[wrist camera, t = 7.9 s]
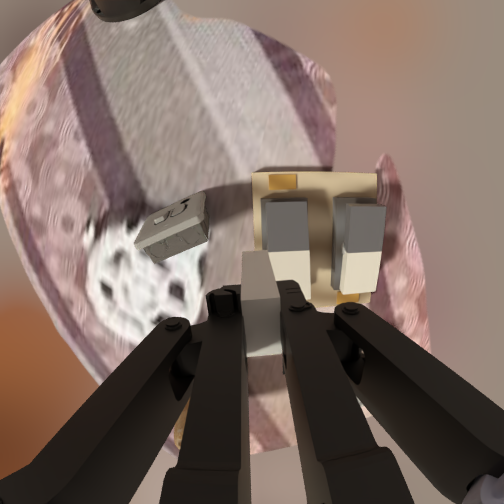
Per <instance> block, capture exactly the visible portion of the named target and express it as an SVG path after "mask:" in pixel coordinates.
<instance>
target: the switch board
mask: <svg viewBox="0 0 504 504" xmlns="http://www.w3.org/2000/svg"><path fill="white" fill-rule="evenodd" d="M251 174H252V197H253V220H254V244H255V251H259V250H267V229H266V209H265V204H266V203H267V202H304V201H307V215H308V232H309V252H310V282H311V299H308V300H306V301H308V302H310V303H312V304H313V305H314V306H315V308H318V307H329V306H337V305H339V304H341V303H346V302H355V303H368V302H370V296H371V292H365V293H355V294H344V295H343V294H342V292H341V291H340V289H339V288H340V280H341V270H342V260H343V253H342V243H344V236H345V220H346V204H377V174H374V173H352V172H257V173H251Z"/></svg>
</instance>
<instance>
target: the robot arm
mask: <svg viewBox="0 0 504 504" xmlns="http://www.w3.org/2000/svg"><path fill="white" fill-rule="evenodd" d="M89 1H90V4H91V8H92V11H93V12H94V14H95V15H96V16H97V17H98V18H99V19H101V20H102V21H105V22H120V21H124V20H128V19H130V18H133V17H136V16H138V15H140V14H142V13H144V12H145V11H147V10H149V9H150V8H152V7H153V6H154V5H156V4H157V3H158V2H159V1H160V0H89ZM206 301H207V307H208V314H209V315H208V320H207V321H205V322H203V323H200V324H196V325H192V326H190V322H189V320H187V319H186V318H182V317H172V318H168V319H166V320H163V321H162V322H160V323H159V324H158V325H157V326H156V327H155V328H154V329H153V330H152V331H151V332H150V333H149V334H148V335H147V336H146V337H145V338H144V340H143V341H142V342H141V343H140V344H139V345H138V346H137V347H136V348H135V349H134V350H133V351H132V352H131V353H130V354H129V355H128V356H127V357H126V359H125V360H124V361H123V362H122V363H121V364H120V365H119V366H118V367H117V368H116V369H115V370H114V371H113V372H112V373H111V375H110V376H109V377H108V378H107V379H106V380H105V381H104V382H103V383H102V384H101V385H100V386H99V387H98V389H97V390H96V391H95V392H94V393H93V394H92V395H91V396H90V397H89V398H88V399H87V400H86V402H85V403H84V404H83V405H82V406H81V407H80V408H79V409H78V410H77V411H76V412H75V414H74V415H73V416H72V417H71V418H70V419H69V420H68V421H67V422H66V424H65V425H64V426H63V427H62V428H61V429H60V430H59V431H58V433H56V435H55V436H54V437H53V438H52V439H51V440H50V441H49V442H48V444H47V445H46V446H45V447H44V448H43V449H42V451H40V453H39V454H38V455H37V456H36V457H35V458H34V459H33V461H32V462H31V463H30V464H29V465H27V466H25V467H24V468H22V469H20V470H18V471H16V472H14V473H12V474H11V475H9V476H7V477H5V478H3V479H1V480H0V504H129V502H130V501H131V499H132V497H133V496H134V494H135V492H136V491H137V489H138V487H139V485H140V484H141V482H142V481H143V479H144V477H145V475H146V474H147V472H148V470H149V469H150V467H151V465H152V463H153V462H154V460H155V458H156V457H157V455H158V453H159V451H160V450H161V448H162V446H163V444H164V443H165V441H166V439H167V437H168V436H169V434H170V432H171V430H172V429H173V427H174V425H175V423H176V422H177V420H178V418H179V416H180V415H181V413H182V411H183V409H184V408H185V406H186V404H187V402H188V400H189V399H190V401H189V406H188V411H187V416H186V421H185V426H184V431H183V436H182V441H181V447H180V452H179V457H178V462H177V465H176V466H175V467H173V468H169V470H168V471H167V472H166V475H165V478H164V481H163V487H162V492H161V497H160V502H159V504H251V478H250V477H251V476H250V441H249V401H248V363H247V357H252V356H265V355H276V354H282V351H283V374H285V376H286V382H287V387H288V393H289V398H290V404H291V409H292V415H293V421H294V426H295V432H296V438H297V443H298V449H299V455H300V461H301V467H302V473H303V479H304V485H305V490H306V496H307V504H414V501H413V499H412V496H411V494H410V491H409V489H408V486H407V484H406V482H405V479H404V477H403V475H402V472H401V470H400V468H399V465H398V463H397V461H396V458H395V456H394V455H393V453H392V451H391V450H390V449H389V448H387V447H379V446H378V445H377V443H376V441H375V439H374V437H373V434H372V432H371V430H370V427H369V425H368V423H367V420H366V418H365V416H364V413H363V411H362V409H361V406H360V404H359V402H358V399H359V400H360V401H361V403H362V404H363V405H364V406H365V407H366V408H367V410H368V411H369V412H370V413H371V414H372V415H373V417H374V418H375V419H376V420H377V421H378V422H379V424H380V425H381V426H382V427H383V428H384V429H385V431H386V432H387V433H388V434H389V435H390V436H391V438H392V439H393V440H394V441H395V442H396V443H397V444H398V446H399V447H400V448H401V449H402V450H403V451H404V453H405V454H406V455H407V456H408V457H409V458H410V460H411V461H412V462H413V463H414V464H415V465H416V466H417V468H418V469H419V470H420V471H421V472H422V473H423V474H424V475H425V477H426V478H427V479H428V480H429V481H430V482H431V483H432V484H433V486H434V487H435V488H436V489H437V490H438V491H439V492H440V493H441V494H442V495H444V496H445V497H447V498H448V499H449V500H451V501H452V502H454V503H456V504H504V410H503V409H502V408H500V407H499V406H498V405H496V404H495V403H494V402H493V401H491V400H490V399H489V398H487V397H486V396H485V395H484V394H482V393H481V392H480V391H478V390H477V389H476V388H475V387H473V386H472V385H471V384H470V383H468V382H467V381H466V380H464V379H463V378H462V377H460V376H459V375H458V374H456V373H455V372H454V371H452V370H451V369H450V368H448V367H447V366H446V365H445V364H443V363H442V362H440V361H439V360H438V359H437V358H435V357H434V356H433V355H431V354H430V353H428V352H427V351H426V350H424V349H423V348H422V347H420V346H419V345H418V344H416V343H415V342H414V341H412V340H411V339H410V338H408V337H407V336H405V335H404V334H403V333H401V332H400V331H399V330H397V329H396V328H394V327H393V326H392V325H390V324H389V323H388V322H386V321H385V320H383V319H382V318H381V317H379V316H378V315H376V314H375V313H374V312H372V311H371V310H370V309H368V308H367V307H365V306H364V305H362V304H359V303H355V302H346V303H341V304H339V305H337V306H336V307H335V310H334V313H323V312H318V311H317V310H316V308H315V306H314V305H313V304H312V303H310V302H308V301H306V299H305V296H304V294H303V292H302V290H301V288H300V285H299V283H297V282H296V281H294V280H281V281H276V280H275V276H274V272H273V269H272V265H271V262H270V258H269V254H268V251H267V250H259V251H246V252H242V277H241V285H227V286H223V287H221V288H220V289H216V290H212V291H211V292H209V293H208V294H207V295H206ZM362 351H363V353H364V354H363V353H362ZM357 398H358V399H357Z"/></svg>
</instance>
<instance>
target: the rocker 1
mask: <svg viewBox="0 0 504 504" xmlns="http://www.w3.org/2000/svg"><path fill="white" fill-rule="evenodd" d="M265 209H266V229H267V251H268V254H269V258H270V262H271V265H272V269H273V272H274V276H275V280H276V281H281V280H294V281H296V282H297V283H299V285H300V288H301V290H302V292H303V294H304V296H305V299H306V300H308V299H311V282H310V252H309V232H308V215H307V201H304V202H267V203H266V204H265Z"/></svg>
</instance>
